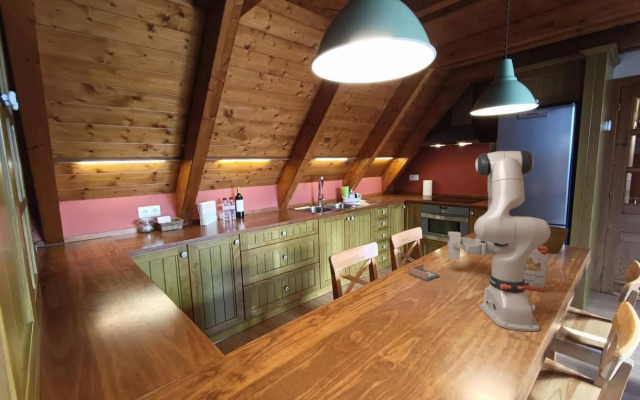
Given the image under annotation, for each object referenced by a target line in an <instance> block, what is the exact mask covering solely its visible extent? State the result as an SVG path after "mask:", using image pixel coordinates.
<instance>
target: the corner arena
mask: <svg viewBox="0 0 640 400" xmlns="http://www.w3.org/2000/svg"><path fill="white" fill-rule="evenodd" d="M424 265H425V264H423V263H419V264H416V265H413V266H412V265H411V266H409V267H408V275H410V276H412V277H414V278H416V279H420V280H421V281H424V282H429V281H432V280H434V279H438V278H440V275H439V274H438V273H435V272H432V271H429V270H427V269H424Z"/></svg>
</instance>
